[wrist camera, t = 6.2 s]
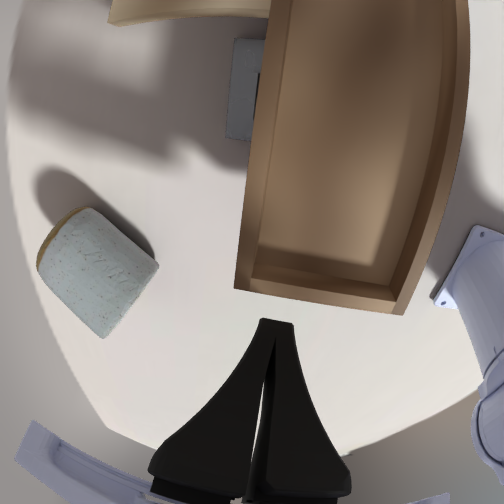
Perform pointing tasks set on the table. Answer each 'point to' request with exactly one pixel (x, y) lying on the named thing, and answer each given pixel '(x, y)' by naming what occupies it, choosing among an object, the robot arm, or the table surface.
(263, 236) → the tilt ramp
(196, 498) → the robot arm
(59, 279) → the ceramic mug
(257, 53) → the pivot stand
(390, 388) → the table surface
